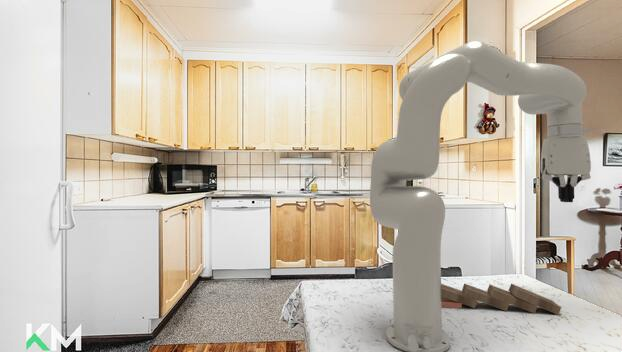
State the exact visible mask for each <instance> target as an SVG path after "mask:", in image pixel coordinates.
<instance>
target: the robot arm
mask: <svg viewBox="0 0 622 352" xmlns="http://www.w3.org/2000/svg"><path fill="white" fill-rule="evenodd" d="M467 83H471V84H473V85H476V86H478V87H480V88H482V89H484V90H486V91H488V92H490V93H492V94H495V95H497V96H502V97H503V96H507V97H509V96H510V97H514V96H516V97H517V96H518V97H517V98H518V99H517V105H518V107H519V109H520V110H521V111H522V112H523V113H525V114H529V115H544V114H546V124H547V126H546V127H547V128H546V132H547V133H546V135H547V138H544V139H543V142H542V145H541V146H542V147H541V155H540V173H541V174H542V175H541V179H542V180H544V181H549V182H552V183H553V184H554V185H555V186H556V187H557V190H558V191H557V193H558V194H557V195H558V199H559V201H560V202H561V203H573V202H574V199H575V187H577V185H578V184H579V183H580V182H581V181H587V180H590V179H591V177H592V176H591V175H590V173H591V169H592V162H591V154H590V148H589V144H588V140H587V138H586V136H584V134H588V133H589V127H584V124H583V104H582V103H583V102H584V101H585V99H586V97H587V92H588V91H587V86H586V84H585V81H584V80H583V79H582V78H581V77H580V76H579V75H578V74H576V73H575V72H574V71H572V70H570V69H569V68H566V67H564V66H563V65H562V66H561V65H558V64H551V63H542V62H541V63H539V62H531V61H530V62H529V61H518V60H516V59H514V58H513V57H511V56H509V55H508V54H505V53H503V52H502V51H500V50H498V49H497V48H495V47H493V46H491V45H489V44H487V43H485V42H483V41H480V40H479V41H478V40H473V41H469V42H467V43H464V44H461V45H460V46H458V47H455V48H454V49H451V50H449V51H448V52H446V53H443V54H442V55H440V56H438V57H436V58H435V59H432V60H431V61H429V62H428V63H425V64H424V65H421V66H420V67H417V68H416V69H414V70H412V71H410V72H408V73H407V74H405V75H404V76H403V77H402V79H401V80H400V83H399V86H398V93H399V97H400V98H401V100H402V101H401V104H400V107H399V112H398V122H397V130H396V131H397V133H396V137H395V138H393V139H389V140H386V141H384V142H382V143H380V144H379V145H378V147H377V148H376V150H375V151H374V154H373V155H372V160H371V167H370V168H371V169H370V185H369V186H370V187H369V188H370V189H369V190H370V191H369V206H370V208H369V209H370V213H371V216H372V218H373V219H374V221H375V222H376V223H378V225H381V226H383V227H385V228H389V229H395V230H398V232H397V236H396V238H395V240H394V243H393V247H392V256H391V257H392V299H393V300H392V302H393V303H392V305H393V306H392V308H393V315H392V316H393V318H392V319H393V323H392V324H391V325H389V326H388V327H387V328H386V330H385V337H386V340H387V341H388V343H390V344H391V345H392V346H393V347H395V348H396V349H398V350H402V351H404V352H446V351H447V350H449V349H450V347H451V337H450V335H449V334H448V333H447V332H446V331H445V330H443V323H442V321H443V317H442V316H443V315H442V312H443V311H442V307H441V284H442V270H441V268H442V265H441V264H442V263H441V262H442V261H441V253H442V252H441V250H442V249H441V248H442V247H441V246H442V237H443V236H442V234H443V229H444V224H445V220H446V206H445V202H444V199H443V198H442V197H441V195H440V194H439V193H438V192H437V191H435V190H433V189H432V188H429V187H426V186H418V185H414V186H413V185H411V186H410V185H408V186H407V181H415V180H417V181H418V180H425V179H429V178H431V177H433V176H434V175H435V174H436V172H437V170H438V167H439V162H440V143H441V141H440V140H441V139H440V138H441V122H442V121H441V120H442V114H443V110H444V107H445V106H446V104H447V102H448V101H449V100H450V98H452V96H453V95H455V94H458V92H460V91H461V90H462V89H463V88H464V86H465V85H466V84H467ZM565 176H566V178H565Z"/></svg>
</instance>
